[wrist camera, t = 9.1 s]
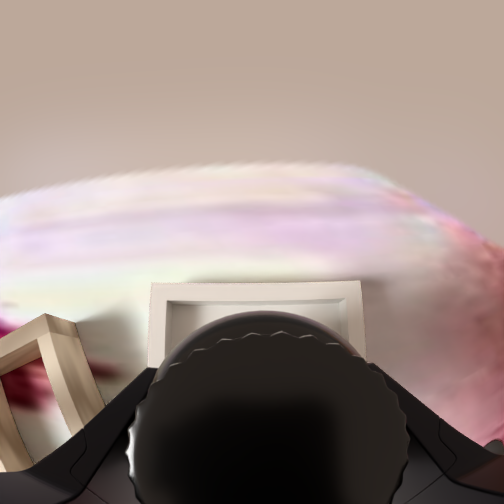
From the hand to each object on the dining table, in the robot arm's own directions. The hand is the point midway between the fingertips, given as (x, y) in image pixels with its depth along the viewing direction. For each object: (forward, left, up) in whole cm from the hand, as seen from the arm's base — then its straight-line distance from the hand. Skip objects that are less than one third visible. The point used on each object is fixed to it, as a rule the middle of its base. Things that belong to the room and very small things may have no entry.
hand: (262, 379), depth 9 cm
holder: (+12, +11, -8) cm, 18 cm away
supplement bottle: (-1, +1, -7) cm, 7 cm away
